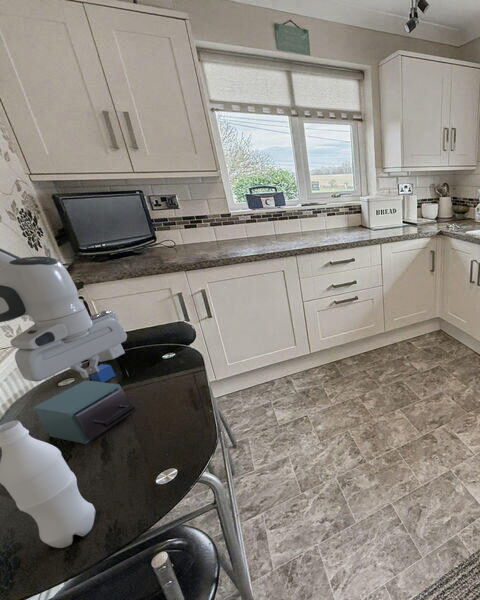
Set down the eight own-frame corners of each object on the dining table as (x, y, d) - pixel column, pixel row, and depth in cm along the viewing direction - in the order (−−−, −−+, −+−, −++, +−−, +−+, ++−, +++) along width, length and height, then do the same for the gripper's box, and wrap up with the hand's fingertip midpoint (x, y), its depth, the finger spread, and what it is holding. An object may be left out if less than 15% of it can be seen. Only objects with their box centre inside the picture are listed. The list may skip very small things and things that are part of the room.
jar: (109, 364, 122) (95, 336, 118) (92, 363, 124) (78, 335, 120) (131, 352, 131) (119, 325, 126) (115, 351, 132) (103, 325, 128)
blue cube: (93, 382, 111) (87, 371, 110) (106, 374, 115) (101, 364, 114) (102, 383, 110) (96, 372, 109) (115, 375, 114) (110, 365, 113)
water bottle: (76, 514, 64) (10, 412, 55) (110, 513, 64) (50, 410, 55) (37, 554, 58) (-45, 445, 49) (75, 553, 57) (0, 443, 48)
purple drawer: (146, 413, 91) (135, 390, 88) (104, 443, 81) (91, 418, 79) (102, 406, 96) (91, 384, 93) (58, 433, 86) (44, 410, 83)
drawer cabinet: (132, 412, 94) (119, 384, 90) (85, 444, 83) (68, 413, 80) (99, 407, 98) (85, 380, 94) (50, 436, 87) (32, 407, 83)
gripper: (104, 307, 87) (124, 352, 92) (-1, 345, 68) (31, 399, 73) (121, 308, 85) (141, 354, 90) (18, 347, 67) (50, 402, 72)
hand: (91, 374), depth 81 cm, fingers closed
